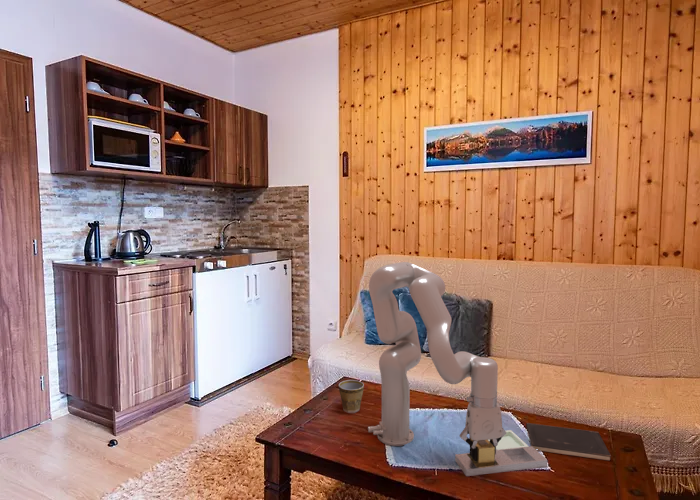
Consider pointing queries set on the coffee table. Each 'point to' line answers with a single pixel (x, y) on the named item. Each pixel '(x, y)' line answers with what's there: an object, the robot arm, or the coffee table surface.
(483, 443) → the block
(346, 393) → the ceramic cup
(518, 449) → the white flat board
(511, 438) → the tray
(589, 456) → the hardcover book
